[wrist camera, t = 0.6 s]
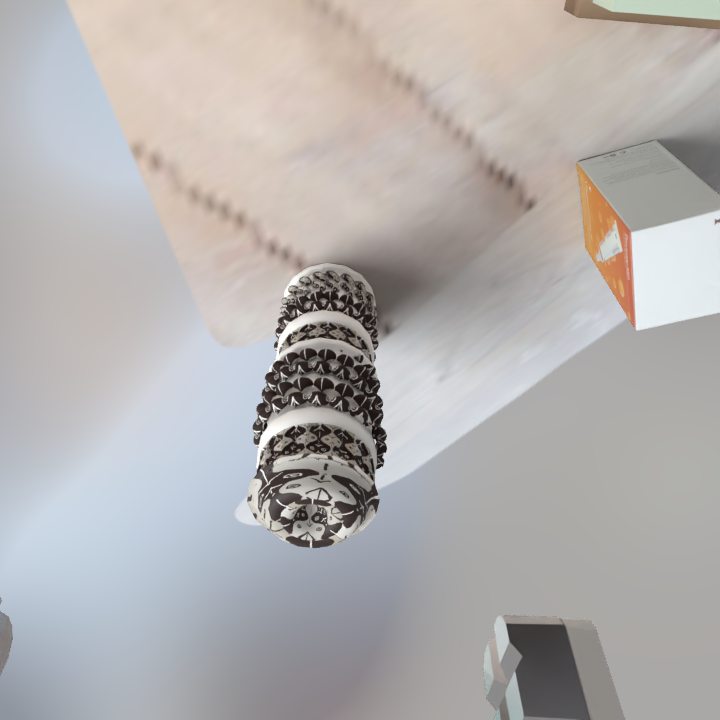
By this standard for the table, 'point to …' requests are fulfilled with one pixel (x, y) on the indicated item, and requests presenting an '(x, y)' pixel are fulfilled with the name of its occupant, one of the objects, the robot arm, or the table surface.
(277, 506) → the decorative candle
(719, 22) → the tower base
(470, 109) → the table surface
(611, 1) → the tower top
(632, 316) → the small box
